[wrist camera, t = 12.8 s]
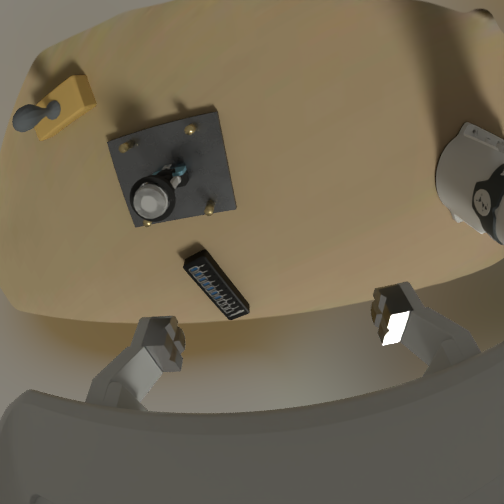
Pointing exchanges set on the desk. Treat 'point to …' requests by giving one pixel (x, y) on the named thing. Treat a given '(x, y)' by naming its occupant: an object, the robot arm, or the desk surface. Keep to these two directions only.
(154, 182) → the push button
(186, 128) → the chassis
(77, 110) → the rubber stamp
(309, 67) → the desk surface
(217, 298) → the multiport hub
